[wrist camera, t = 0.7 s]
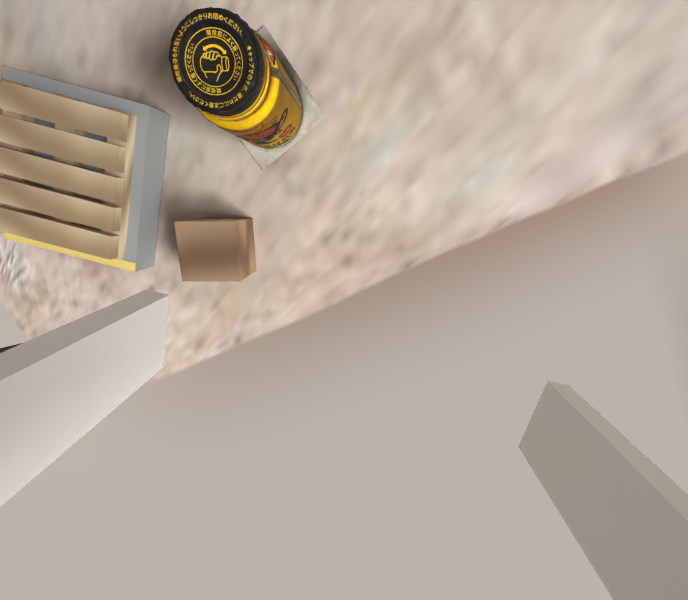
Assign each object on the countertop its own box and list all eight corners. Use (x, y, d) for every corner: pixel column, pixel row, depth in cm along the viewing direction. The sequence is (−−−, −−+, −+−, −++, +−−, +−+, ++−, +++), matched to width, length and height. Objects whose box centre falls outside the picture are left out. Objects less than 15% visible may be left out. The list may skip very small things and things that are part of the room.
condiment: (263, 170, 32) (207, 153, 20) (201, 86, 30) (102, 17, 19) (326, 117, 30) (305, 67, 19) (265, 27, 29) (201, -89, 17)
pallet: (14, 82, 28) (-12, 73, 26) (136, 115, 28) (120, 109, 26) (15, 229, 31) (-8, 231, 29) (125, 258, 32) (109, 262, 30)
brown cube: (201, 218, 33) (174, 221, 29) (252, 218, 33) (234, 221, 28) (207, 269, 35) (182, 281, 30) (256, 270, 35) (239, 281, 30)
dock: (35, 78, 31) (1, 65, 28) (169, 114, 31) (149, 105, 28) (34, 234, 34) (4, 237, 32) (153, 265, 35) (134, 271, 32)
